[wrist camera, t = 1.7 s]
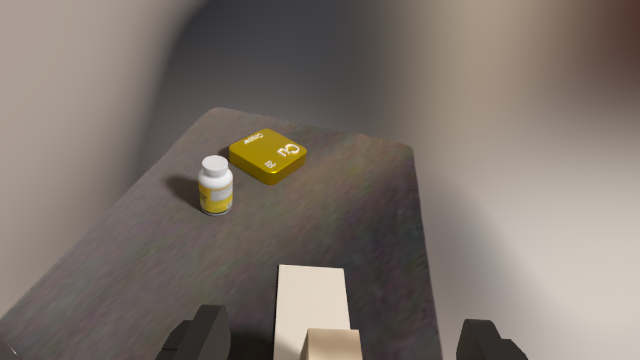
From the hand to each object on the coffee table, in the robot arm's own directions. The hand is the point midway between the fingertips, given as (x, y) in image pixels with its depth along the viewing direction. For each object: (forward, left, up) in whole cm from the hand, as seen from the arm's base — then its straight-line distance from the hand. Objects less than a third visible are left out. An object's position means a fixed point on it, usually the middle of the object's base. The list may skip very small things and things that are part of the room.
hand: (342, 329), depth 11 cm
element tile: (+58, +27, -41) cm, 76 cm away
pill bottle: (+37, +29, -40) cm, 62 cm away
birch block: (+12, -2, -40) cm, 42 cm away
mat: (+23, +3, -40) cm, 46 cm away
